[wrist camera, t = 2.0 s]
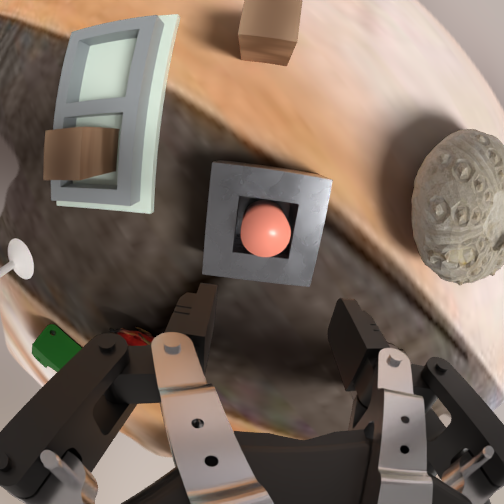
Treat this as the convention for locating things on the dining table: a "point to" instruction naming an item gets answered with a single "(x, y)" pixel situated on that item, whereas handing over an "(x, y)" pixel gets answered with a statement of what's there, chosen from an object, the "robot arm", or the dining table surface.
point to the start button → (265, 229)
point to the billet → (80, 152)
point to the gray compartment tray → (117, 106)
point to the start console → (295, 210)
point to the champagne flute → (18, 260)
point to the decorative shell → (461, 207)
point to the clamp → (54, 348)
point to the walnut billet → (269, 30)
